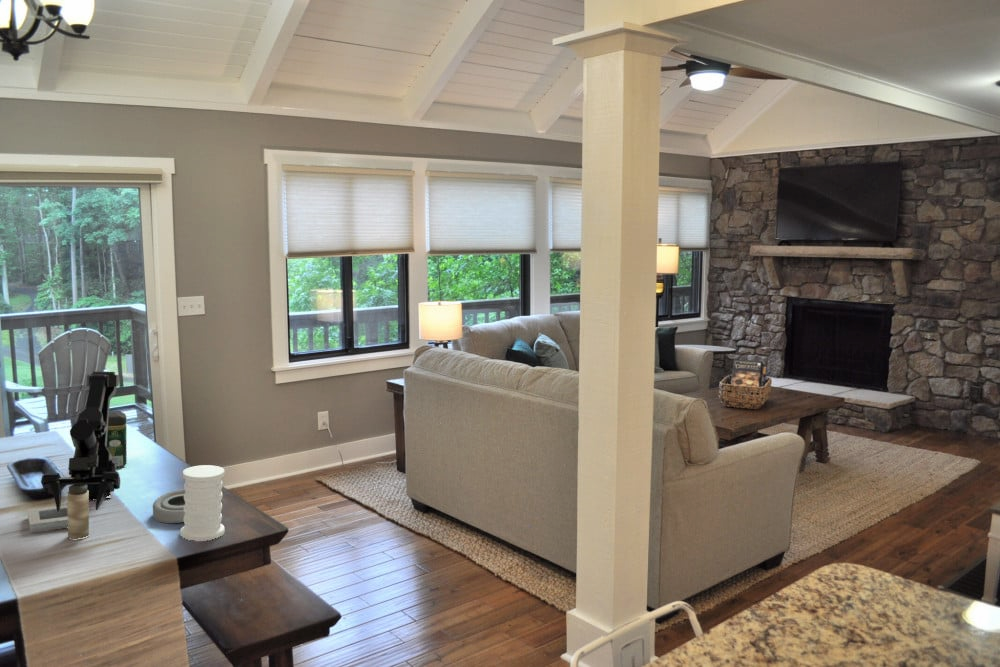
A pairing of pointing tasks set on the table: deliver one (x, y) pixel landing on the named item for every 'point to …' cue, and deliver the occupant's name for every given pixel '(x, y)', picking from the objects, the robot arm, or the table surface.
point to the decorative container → (203, 503)
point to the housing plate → (47, 518)
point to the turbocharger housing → (170, 507)
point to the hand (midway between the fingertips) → (77, 510)
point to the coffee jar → (117, 438)
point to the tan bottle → (78, 511)
